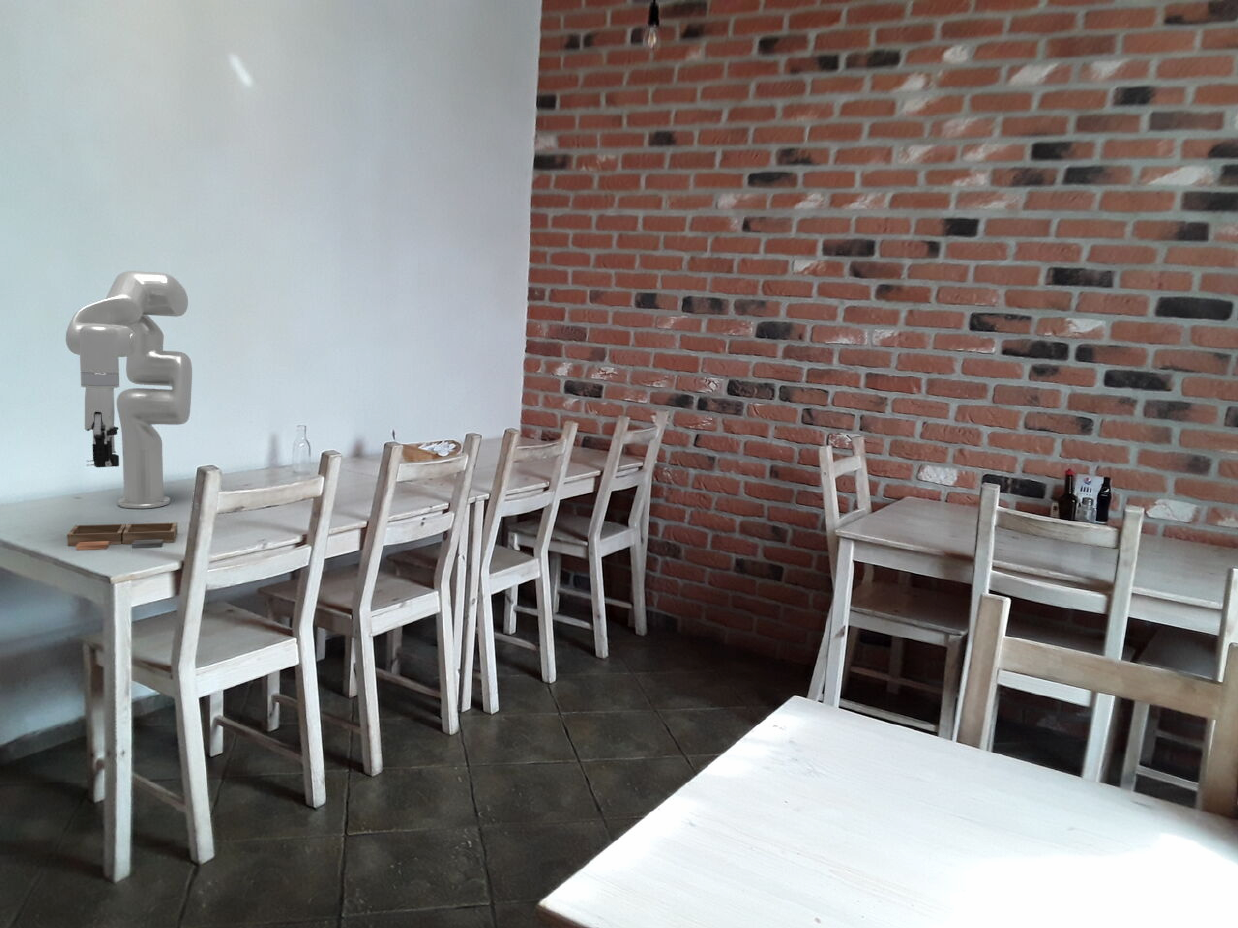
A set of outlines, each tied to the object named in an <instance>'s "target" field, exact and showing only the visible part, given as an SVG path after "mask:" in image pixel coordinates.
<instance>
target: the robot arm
mask: <svg viewBox="0 0 1238 928" xmlns="http://www.w3.org/2000/svg"><path fill="white" fill-rule="evenodd" d="M188 307H189V299H188V294H187V292H186V289H185V288H184V286H183V285H182V284H181V283H180V282H179V281H178V280H177V279H176V278H175V277H174V276H173V275H170V274H168V273H165V272H157V271H156V272H155V271H154V272H153V271H152V272H151V271H139V270H127V271H123V272H121V273H119V274H118V275H117V276H116V278H115V280H114V281H113V284H112V285H111V287H110V289H109V291H108V294H107V296H106V298H102V299H99V300H98V301H95V302H93V303H90V304H88V305H86V306H84V307H81V308H80V309H78V310H77V311H76V312H75V314H73V316H72V318H71V320H70V321H69V324H68V326H67V329H66V333H65V343H66V346H67V348H68V350H69V351H70V352H72V354H75V355H78V356H79V361H80V362H79V365H80V387H82V388H85V394H84V430H85V432H89V431H91V430H92V427H93V430H92V460H93V461H92V462H93V463H94V462H108V461H109V444H107V431H109V430H110V429H111V427H112V424H113V423H114V424H115V416H116V415H115V390H114V389H117V388H120V367H119V366H120V365H119V363H120V362H119V360H120V359H119V358H126V362H125V364H126V365H125V366H126V367H125V373H126V377H127V380H128V381H129V382H130V383H133V384H136V385H140V386H141V385H143V386H159V387H160V386H163V387H171V388H172V389H166V388H163V389H162V388H160V389H159V388H148V387H147V388H145V387H142V388H141V387H138V388H137V387H135V388H128V389H125V390H122V391H121V392H120V393H119V394H118V395H117V399H116V408H117V414H118V418H119V423H120V428H121V429H120V430H121V431H120V432H121V446H122V449H121V450H122V470H123V472H122V473H123V496H124V497H121V498H119V499H118V500H117V506H119V507H122V508H126V509H152V508H154V509H155V508H160V507H164V506H167V505H169V504H170V503H171V498H170V497H169V496H166V495H164V494H165V493H164V466H163V465H164V464H163V441H162V437H161V435H160V434H159V433H158V431H157V430H156V429H155V428H154V427H153V425H166V426H167V425H168V426H169V425H170V426H171V425H172V426H173V425H174V426H177V425H183V424H186V423H187V422H188V421H189V418H190V413H191V405H192V387H193V386H192V384H193V383H192V382H193V365H192V361H191V359H190V356H188V355H187V354H186V353H184V352H182V351H178V350H177V351H175V350H164V339H165V336H164V333H163V331H162V329H161V328H160V326H159V325H158V324H157V323H156V322H155V321H154V320H153V319H152V318H151V317H150V316H156V317H157V316H159V317H162V316H163V317H175V318H176V317H181V316H184V314H185V313H186V312H187V310H188ZM104 425H105V427H104ZM101 428H105V431H101ZM102 433H104V435H103V434H102ZM110 446H111V441H110Z"/></svg>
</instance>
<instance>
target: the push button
mask: <svg viewBox="0 0 1238 928" xmlns="http://www.w3.org/2000/svg"><path fill="white" fill-rule="evenodd" d="M104 427H105V425H104ZM91 430H92V431H93V427H92V429H91ZM118 430H119V427H118V426H115V422H114V423H113V424H112V427H111V429H110V430H109V431H107V444H109V461H108V462H94V461H93V459H92V460H86V462H87V463H88V462H93V463H92V464H86V466H94V467H95V468H109V467H110V468H111V467H112V468H114V467H117V468H118V467H119V466H120V457H119V454H117V451H116V450H115V449H116V448H115V444H116V443H115V436H116V435H118ZM101 431H105V428H101ZM102 434H103V435H104V433H102ZM110 441H111V446H110Z"/></svg>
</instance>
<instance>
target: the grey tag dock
mask: <svg viewBox="0 0 1238 928" xmlns="http://www.w3.org/2000/svg"><path fill="white" fill-rule="evenodd" d="M177 532H178V522H151V523H150V522H149V523H148V522H147V523H144V522H143V523H128V524H126V528H125V530H124V532H123V542H122V544H123V545H131V549H144V548H145V549H146V548H147V549H149V548H162V547H163V544H166V542H169V543H175V541H176V539H177V536H176V535H178V533H177Z"/></svg>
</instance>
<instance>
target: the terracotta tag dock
mask: <svg viewBox="0 0 1238 928" xmlns="http://www.w3.org/2000/svg"><path fill="white" fill-rule="evenodd" d="M126 526H127V523H112V524H110V523H108V524H80V525H79V524H76V525H74V526H73V527H72V528H71V530H70V531H69V532H68V533H67V534H66V535H67V537H66V538H67V547H75V548H76V549H75V550H76V551H89V550H90V551H92V550H94V551H95V550H107V549H108V548H109V546H110V545H122V544H123V532H124V530H125V528H126Z"/></svg>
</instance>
